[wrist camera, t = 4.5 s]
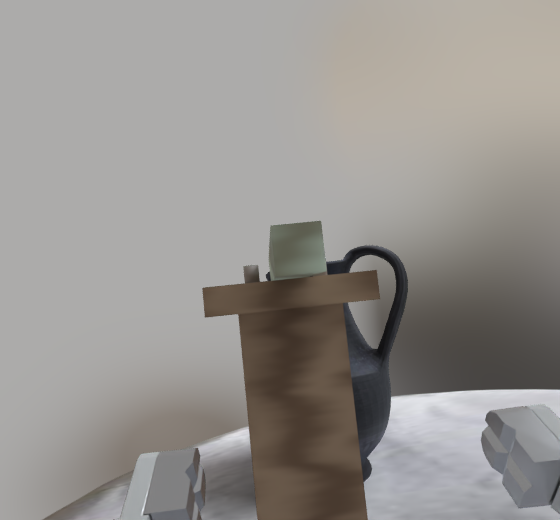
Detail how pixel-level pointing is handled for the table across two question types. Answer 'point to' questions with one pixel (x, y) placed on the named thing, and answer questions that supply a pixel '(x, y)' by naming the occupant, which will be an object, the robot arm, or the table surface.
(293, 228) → the bar
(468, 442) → the table surface
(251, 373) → the shelf stand
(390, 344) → the pitcher
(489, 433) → the robot arm
